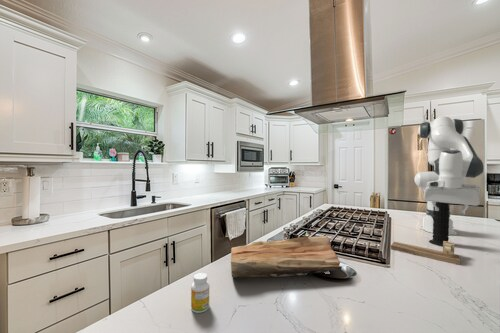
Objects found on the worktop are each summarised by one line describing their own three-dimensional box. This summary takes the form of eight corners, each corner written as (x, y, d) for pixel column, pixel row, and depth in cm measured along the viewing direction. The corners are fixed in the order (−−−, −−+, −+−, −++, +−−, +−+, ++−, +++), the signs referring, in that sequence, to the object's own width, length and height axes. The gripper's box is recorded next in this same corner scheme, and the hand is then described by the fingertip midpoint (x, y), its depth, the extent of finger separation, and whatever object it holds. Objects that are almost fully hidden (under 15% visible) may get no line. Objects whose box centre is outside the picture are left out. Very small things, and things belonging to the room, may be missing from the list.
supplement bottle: (192, 302, 72) (192, 271, 72) (210, 301, 72) (210, 271, 72) (189, 313, 67) (189, 280, 66) (208, 313, 67) (208, 280, 67)
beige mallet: (443, 252, 114) (443, 240, 114) (454, 255, 111) (454, 242, 111) (441, 260, 105) (441, 247, 105) (453, 262, 102) (453, 249, 102)
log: (330, 262, 101) (324, 227, 101) (350, 279, 83) (343, 237, 84) (234, 281, 97) (229, 245, 98) (234, 303, 80) (228, 259, 81)
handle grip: (457, 247, 121) (443, 240, 131) (458, 197, 121) (444, 194, 131) (437, 246, 122) (424, 240, 132) (438, 197, 122) (425, 194, 132)
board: (394, 245, 124) (394, 241, 124) (459, 259, 106) (459, 255, 106) (390, 249, 118) (390, 245, 118) (459, 265, 100) (459, 260, 100)
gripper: (480, 184, 105) (479, 214, 106) (424, 181, 119) (424, 208, 120) (481, 186, 101) (480, 217, 101) (423, 182, 115) (422, 210, 115)
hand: (449, 212), depth 111 cm, fingers open, 8 cm apart
